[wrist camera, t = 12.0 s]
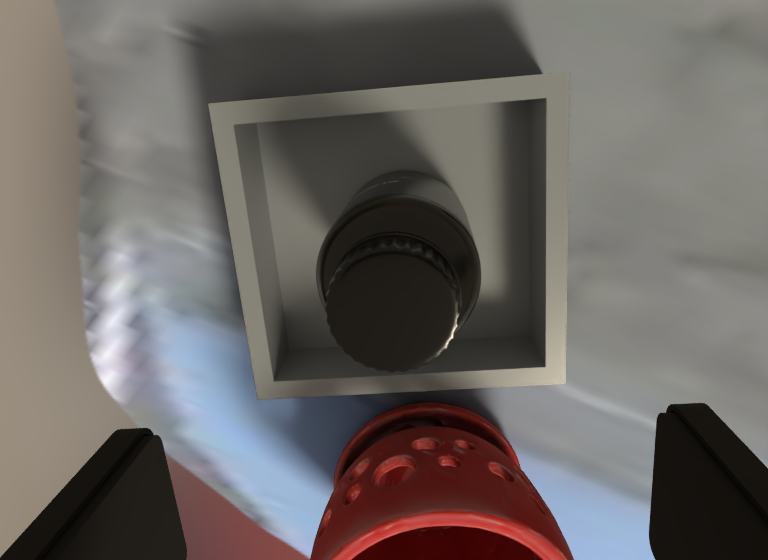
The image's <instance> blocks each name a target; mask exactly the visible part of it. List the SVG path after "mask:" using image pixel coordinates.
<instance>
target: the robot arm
mask: <svg viewBox="0 0 768 560" xmlns="http://www.w3.org/2000/svg"><path fill="white" fill-rule="evenodd" d="M649 540H650V546H651V550H652V553H653V555H654V557H655V559H656V560H768V468H767V467H766V466H765V465H764V464H763V463H762V462H761V461H760V460H759V459H758V458H757V457H756V456H755V454H754V453H753V452H752V451H751V450H750V449H749V448H748V447H747V446H746V445H745V444H744V443H743V442H742V441H741V440H740V439H739V438H738V437H737V436H736V435H735V433H734V432H733V431H732V430H731V429H730V428H729V427H728V426H727V425H726V424H725V423H724V422H723V421H722V420H721V419H720V418H719V417H718V416H717V415H716V414H715V413H714V411H713V410H712V409H711V408H710V407H709V406H708V405H706V404H705V403H691V404H671V405H669V406H668V408H667V411H666V413H660V414H659V415H658V417H657V424H656V439H655V453H654V468H653V482H652V497H651V511H650V526H649ZM186 557H187V548H186V542H185V538H184V534H183V530H182V525H181V521H180V517H179V512H178V508H177V504H176V499H175V495H174V491H173V486H172V482H171V478H170V473H169V469H168V465H167V460H166V456H165V452H164V447H163V443H162V440H161V438H160V437H159V436H158V435H153V432H152V431H151V430H150V429H148V428H136V429H120V430H117V431H115V432H114V433H113V434H112V435H111V436H110V437H109V438H108V439H107V441H106V442H105V443H104V444H103V445H102V446H101V447H100V448H99V449H98V451H97V452H96V453H95V454H94V455H93V456H92V457H91V458H90V459H89V460H88V461H87V463H86V464H85V465H84V466H83V467H82V468H81V469H80V470H79V472H78V473H77V474H76V475H75V476H74V477H73V478H72V479H71V480H70V481H69V482H68V484H67V485H66V486H65V487H64V488H63V489H62V490H61V491H60V492H59V493H58V495H57V496H56V497H55V498H54V499H53V500H52V501H51V503H49V504H48V506H47V507H46V508H45V509H44V510H43V511H42V512H41V513H40V514H39V516H38V517H37V518H36V519H35V520H34V521H33V522H32V523H31V524H30V525H29V527H28V528H27V529H26V530H25V531H24V532H23V533H22V534H21V535H20V536H19V538H18V539H17V540H16V541H15V542H14V543H13V544H12V545H11V547H9V549H8V550H7V551H6V552H5V553H4V554H3V555H2V556H1V558H0V560H186Z"/></svg>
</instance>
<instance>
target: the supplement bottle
mask: <svg viewBox="0 0 768 560" xmlns="http://www.w3.org/2000/svg"><path fill="white" fill-rule="evenodd" d="M316 284H317V289H318V294H319V297H320V300H321V303H322V305H323V307H324V309H325V311H326V313H327V320H326V322H327V323H328V325H329V326H330V333H331V334H332V335H333V336H334V337H335V339H336V343H337V345H339V346H341V347H342V348H343V351H344V352H345V354H347V355H350V356H351V357H352V358H353V359H354V361H356V362H360V363H362V364H363V365H364V366H366V367H369V368H374V369H376V370H378V371H384V370H385V371H388V372H391V373H392V372H395V371H400V372H405V371H407V370H409V369H418V368H419V367H420V366H421V365H427V364H429V363H430V362H431V360H433V359H436V358H438V357H439V356H440V354H441V352H442V351H444V350H446V349H447V348H448V346H449V342H450V341H452V340H453V339H454V337H455V333H456V332H457V331H459V330H460V328H461V327H462V326H463V325H464V324H465V322H466V321H467V320H468V318H469V317H470V315H471V313H472V312H473V309H474V307H475V305H476V302H477V300H478V296H479V292H480V286H481V265H480V259H479V254H478V251H477V247H476V244H475V241H474V237H473V234H472V231H471V228H470V224H469V221H468V218H467V215H466V212H465V210H464V207H463V205H462V204H461V202H460V200H459V199H458V197H457V196H456V194H455V193H454V192H453V191H452V190H451V189H450V188H449V187H448V186H447V185H446V184H444V183H443V182H442V181H440V180H439V179H437V178H435V177H433V176H431V175H428V174H426V173H422V172H418V171H412V170H399V171H392V172H388V173H385V174H382V175H380V176H378V177H375V178H374V179H372V180H370V181H369V182H368V183H366V184H365V185H364V186H363V187H361V188H360V189H359V190H358V192H357V193H356V194H355V195H354V196H353V197H352V199H351V200H350V201H349V203H348V204H347V206H346V207H345V208H344V210H343V211H342V213H341V214H340V215H339V217H338V218H337V220H336V221H335V222H334V224H333V225H332V227H331V228H330V230H329V231H328V233H327V235H326V237H325V239H324V241H323V243H322V245H321V248H320V251H319V254H318V258H317V265H316Z"/></svg>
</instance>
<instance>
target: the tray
mask: <svg viewBox="0 0 768 560" xmlns="http://www.w3.org/2000/svg"><path fill="white" fill-rule="evenodd" d="M208 106H209V112H210V118H211V124H212V130H213V136H214V142H215V148H216V154H217V160H218V166H219V172H220V177H221V183H222V189H223V195H224V201H225V207H226V213H227V219H228V225H229V231H230V237H231V243H232V249H233V255H234V261H235V267H236V273H237V279H238V285H239V291H240V297H241V303H242V309H243V315H244V321H245V327H246V333H247V339H248V345H249V351H250V357H251V363H252V369H253V375H254V381H255V387H256V393H257V398H258V400H262V399H281V398H300V397H320V396H339V395H358V394H378V393H397V392H416V391H436V390H455V389H474V388H494V387H513V386H532V385H552V384H566V318H567V251H568V185H569V118H570V72H561V73H549V74H538V75H527V76H515V77H504V78H493V79H481V80H470V81H459V82H447V83H436V84H425V85H413V86H402V87H390V88H379V89H368V90H356V91H345V92H334V93H322V94H311V95H300V96H288V97H277V98H266V99H254V100H243V101H232V102H220V103H209V104H208ZM399 170H412V171H418V172H422V173H426V174H428V175H431V176H433V177H435V178H437V179H439V180H440V181H442V182H443V183H444V184H446V185H447V186H448V187H449V188H450V189H451V190H452V191H453V192H454V193H455V194H456V196H457V197H458V199H459V200H460V202H461V204H462V205H463V207H464V210H465V212H466V215H467V218H468V221H469V224H470V228H471V231H472V234H473V237H474V241H475V244H476V247H477V251H478V254H479V259H480V265H481V286H480V292H479V296H478V300H477V302H476V305H475V307H474V309H473V312H472V313H471V315H470V317H469V318H468V320H467V321H466V322H465V324H464V325H463V326H462V327H461V328H460V330H459V331H457V332H456V333H455V337H454V339H453V340H452V341H450V342H449V346H448V348H447V349H446V350H444V351H442V352H441V354H440V356H439V357H438V358H436V359H433V360H431V362H430V363H429V364H427V365H421V366H420V367H419V368H418V369H409V370H407V371H405V372H400V371H395V372H392V373H391V372H388V371H385V370H384V371H378V370H376V369H374V368H369V367H366V366H364V365H363V364H362V363H360V362H356V361H354V359H353V358H352V357H351V356H350V355H347V354H345V352H344V351H343V348H342V347H341V346H339V345H337V343H336V339H335V337H334V336H333V335H332V334H331V333H330V326H329V325H328V323H327V322H326V320H327V313H326V311H325V309H324V307H323V305H322V303H321V300H320V297H319V294H318V289H317V284H316V265H317V258H318V254H319V251H320V248H321V245H322V243H323V241H324V239H325V237H326V235H327V233H328V231H329V230H330V228H331V227H332V225H333V224H334V222H335V221H336V220H337V218H338V217H339V215H340V214H341V213H342V211H343V210H344V208H345V207H346V206H347V204H348V203H349V201H350V200H351V199H352V197H353V196H354V195H355V194H356V193H357V192H358V190H359V189H360V188H361V187H363V186H364V185H365V184H366V183H368V182H369V181H370V180H372V179H374V178H375V177H378V176H380V175H382V174H385V173H388V172H392V171H399Z"/></svg>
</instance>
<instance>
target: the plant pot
mask: <svg viewBox="0 0 768 560" xmlns="http://www.w3.org/2000/svg"><path fill="white" fill-rule="evenodd" d="M310 560H574V559H573V556H572V554H571V551H570V549H569V547H568V545H567V542H566V540H565V538H564V536H563V534H562V532H561V530H560V528H559V526H558V524H557V522H556V520H555V518H554V516H553V515H552V513H551V511H550V509H549V508H548V506H547V505H546V504H545V502H544V501H543V499H542V498H541V496H540V494H539V493H538V491H537V490H536V489H535V487H534V486H533V484H532V483H531V481H530V480H529V479H528V477H527V476H526V475H525V473H524V472H523V471H522V470H521V468H520V464H519V461H518V458H517V456H516V454H515V452H514V450H513V448H512V446H511V445H510V443H509V442H508V440H507V439H506V438H505V437H504V435H503V434H502V433H501V432H500V431H499V430H498V429H497V428H496V427H495V426H493V425H492V424H491V423H490V422H489V421H487V420H486V419H484V418H483V417H481V416H479V415H477V414H476V413H474V412H472V411H469V410H467V409H464V408H461V407H458V406H454V405H449V404H442V403H433V402H428V403H415V404H408V405H404V406H400V407H397V408H394V409H391V410H389V411H387V412H384V413H382V414H380V415H378V416H377V417H375V418H373V419H372V420H371V421H369V422H368V423H366V424H365V425H364V426H363V427H362V428H361V429H360V430H359V431H358V432H357V433H356V434H355V435H354V436H353V437H352V438H351V440H350V441H349V442H348V444H347V445H346V447H345V449H344V450H343V452H342V454H341V457H340V459H339V461H338V464H337V467H336V471H335V476H334V491H333V493H332V495H331V497H330V499H329V502H328V504H327V506H326V508H325V511H324V514H323V516H322V519H321V522H320V525H319V528H318V531H317V535H316V538H315V541H314V545H313V549H312V554H311V558H310Z"/></svg>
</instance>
